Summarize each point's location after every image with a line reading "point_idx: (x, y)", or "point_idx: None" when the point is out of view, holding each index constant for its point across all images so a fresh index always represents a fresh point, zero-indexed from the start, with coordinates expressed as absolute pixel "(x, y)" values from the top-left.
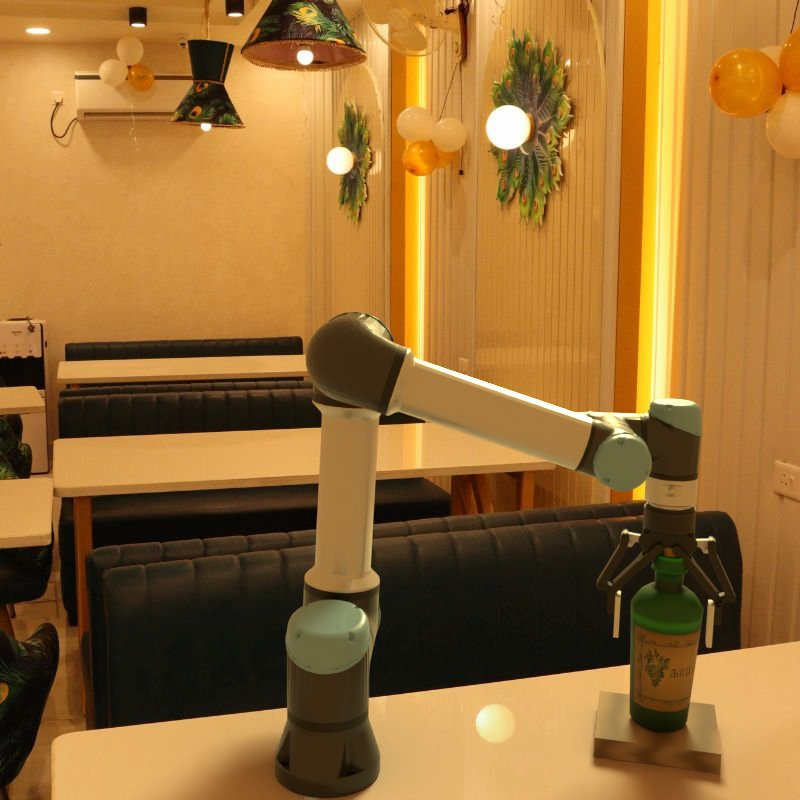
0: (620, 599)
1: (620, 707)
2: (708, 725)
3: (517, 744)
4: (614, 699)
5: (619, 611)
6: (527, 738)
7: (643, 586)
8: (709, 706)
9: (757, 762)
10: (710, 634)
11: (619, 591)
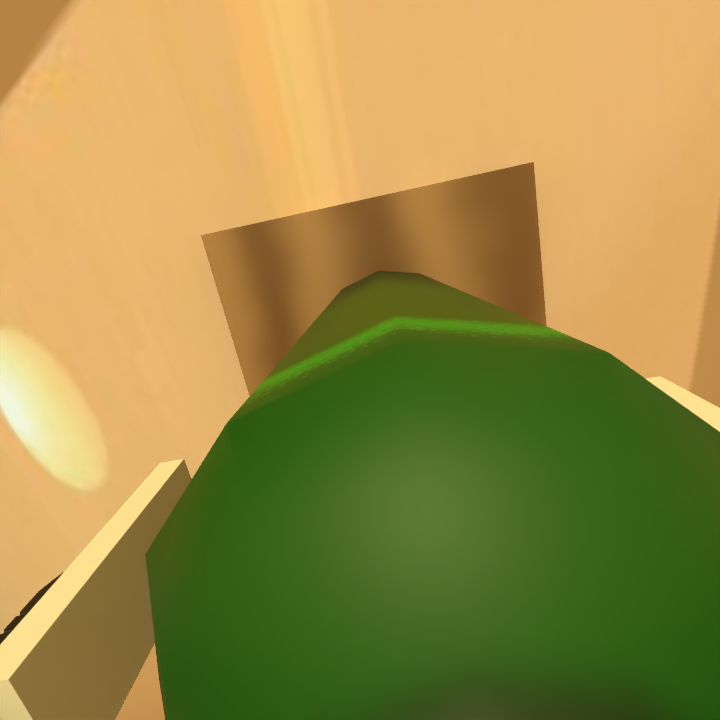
0: (73, 639)
1: (285, 313)
2: (521, 309)
3: (135, 478)
4: (256, 272)
5: (143, 662)
6: (140, 448)
7: (176, 695)
8: (519, 184)
9: (619, 334)
10: None
11: (3, 691)
